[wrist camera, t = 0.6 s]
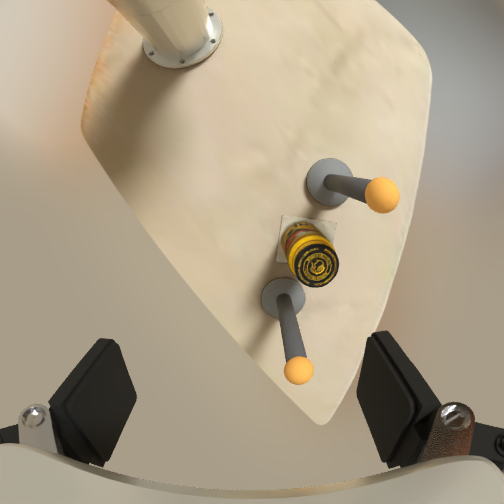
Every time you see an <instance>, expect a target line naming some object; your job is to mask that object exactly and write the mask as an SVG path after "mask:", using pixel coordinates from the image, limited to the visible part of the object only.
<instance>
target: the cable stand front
mask: <svg viewBox="0 0 504 504" xmlns="http://www.w3.org/2000/svg"><path fill="white" fill-rule="evenodd" d="M307 187H308V190H309V192H310V194H311V196H312V197H313V198H314V199H315V200H316V201H318V202H320V203H322V204H324V205H328V206H334V205H338V204H341V203H343V202H344V201H345V200H346V199H347V198H348V197H351V198H353V199H356V200H359V201H361V202H364V203H367V204H368V206H369V207H370V208H371V209H372V210H374V211H375V212H378V213H388V212H391V211H392V210H393V209H394V208H395V207H396V206H397V204H398V202H399V191H398V188H397V186H396V185H395V183H394V182H392V181H391V180H389V179H387V178H383V177H379V178H376V179H373V180H369V179H363V178H356V177H353V175H352V173H351V171H350V169H349V167H348V166H347V165H346V164H345V163H343V162H342V161H340V160H337V159H333V158H327V159H322V160H319V161H318V162H316V163H315V164H314V165H313V166H312V167H311V168H310V170H309V172H308V175H307Z"/></svg>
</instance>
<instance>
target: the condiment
mask: <svg viewBox="0 0 504 504" xmlns="http://www.w3.org/2000/svg"><path fill="white" fill-rule="evenodd" d="M336 224H337V223H335V222H329V221H321V220H315V219H308V218H301V217H294V216H286V215H283V216H282V223H281V229H280V236H279V243H278V250H277V256H276V262H284V263H288V265H289V267H290V270H291V271H292V273H293V274H294V275H295V276H296V277H297V278H298V280H299V281H300V282H302V283H303V284H304V285H306V286H308V287H323V286H325V285H327V284H328V283H329V282H330V281H332V280H333V278H334V277H335V276H336V274H337V272H338V268H339V260H338V257H337V255H336V252H335V250H334V248H333V246H332V244H333V239H334V234H335V229H336Z"/></svg>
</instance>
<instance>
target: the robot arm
mask: <svg viewBox="0 0 504 504" xmlns="http://www.w3.org/2000/svg"><path fill="white" fill-rule="evenodd" d="M107 1H108V2H109V3H110V4H112V5H113V6H114V7H115V8H116V9H117V10H118V11H119V12H120V13H121V15H122V16H123V17H124V18H125V19H126V20H127V21H128V22H129V23H130V24H131V25H132V26H133V27H134V28H135V29H136V30H137V31H138V32H139V33H140V34H141V35H142V36H143V37H144V39H143V48H144V51H145V53H146V55H147V56H148V57H149V59H150V60H152V61H153V62H154V63H156V64H157V65H159V66H162V67H166V68H184V67H188V66H191V65H194V64H196V63H199V62H201V61H202V60H204V59H205V58H207V57H208V56H209V55H210V54H212V53H213V52H214V50H215V49H216V48H217V47H218V45H219V43H220V41H221V38H222V35H223V26H222V22H221V19H220V17H219V16H218V14H217V13H216V12H215V11H213V10H212V9H210V8H208V7H206V5H205V2H204V0H107ZM211 16H212V17H211ZM214 42H215V43H214ZM212 43H214V44H212ZM153 54H154V55H153ZM183 62H184V63H183ZM182 63H183V64H182ZM357 398H358V400H359V403H360V406H361V408H362V411H363V413H364V416H365V418H366V421H367V424H368V426H369V428H370V431H371V434H372V437H373V439H374V442H375V445H376V447H377V450H378V453H379V455H380V458H381V461H382V462H384V463H385V462H386V463H387V465H388V468H389V469H390V468H393V467H396V466H399V465H400V467H401V468H399V469H395V470H392V471H388V472H385V473H381V474H377V475H373V476H368V477H364V478H359V479H355V480H349V481H344V482H339V483H333V484H327V485H320V486H313V487H304V488H293V489H280V490H218V489H217V490H216V489H204V488H194V487H185V486H177V485H171V484H165V483H159V482H154V481H148V480H144V479H139V478H134V477H130V476H126V475H122V474H118V473H115V472H111V471H107V470H104V469H101V468H97V467H94V466H91V465H89V463H91V464H94V465H97V466H100V467H103V466H104V464H105V462H106V461H109V459H110V457H111V455H112V453H113V450H114V448H115V446H116V444H117V442H118V439H119V437H120V435H121V433H122V430H123V428H124V426H125V424H126V421H127V420H128V417H129V415H130V413H131V411H132V409H133V406H134V405H135V402H136V399H137V395H136V391H135V389H134V386H133V384H132V381H131V378H130V376H129V373H128V370H127V367H126V365H125V362H124V359H123V356H122V353H121V350H120V347H119V345H118V344H117V343H116V342H115V341H114V340H113V339H105V338H100V339H98V340H97V342H96V343H95V344H94V345H93V347H92V348H91V349H90V350H89V351H88V352H87V354H86V355H85V356H84V357H83V358H82V360H81V361H80V362H79V363H78V365H77V366H76V367H75V368H74V369H73V371H72V372H71V373H70V375H69V376H68V377H67V378H66V379H65V381H64V382H63V383H62V385H61V386H60V387H59V388H58V390H57V391H56V392H55V394H54V395H53V396H52V397H51V399H50V400H49V401H48V402H49V404H50V406H51V407H50V408H49V409H48V408H47V407H46V406H44V405H42V404H33V405H30V406H28V407H26V408H25V409H24V410H23V411H22V412H21V413H20V415H19V419H18V424H16V425H13V426H9V427H6V428H2V429H0V504H504V429H503V428H498V427H493V426H489V425H485V424H481V423H477V422H475V416H474V413H473V411H472V410H471V409H470V407H468V406H467V405H465V404H463V403H460V402H449V403H446V404H444V405H441V403H440V401H439V400H438V398H437V397H436V396H435V394H434V393H433V391H432V390H431V388H430V387H429V385H428V384H427V382H426V381H425V380H424V378H423V377H422V375H421V374H420V373H419V371H418V370H417V368H416V367H415V366H414V364H413V363H412V362H411V361H410V360H409V358H408V357H407V356H406V354H405V353H404V352H403V350H402V349H401V347H400V346H399V345H398V343H397V342H396V341H395V340H394V338H393V337H392V335H391V334H390V333H389V332H388V331H380V332H373V333H372V335H371V337H368V338H367V342H366V347H365V353H364V358H363V363H362V368H361V373H360V377H359V382H358V386H357Z"/></svg>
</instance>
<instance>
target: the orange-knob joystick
mask: <svg viewBox="0 0 504 504" xmlns="http://www.w3.org/2000/svg"><path fill="white" fill-rule="evenodd" d="M304 303H305V293H304V290H303V288H302V286H301V285H300V284H299V283H298V282H297V281H296V280H294V279H291V278H285V277H284V278H277V279H275V280H273V281H271V282H269V283H268V284H267V285H266V287H265V288H264V290H263V292H262V305H263V308H264V310H265V311H266V312H267V313H268V314H269V315H270V316H272V317H275V318H279V321H280V327H281V333H282V339H283V345H284V351H285V358H286V365H285V367H284V375H285V377H286V379H287V380H288V381H289V382H290V383H292V384H296V385H301V384H304V383H306V382H308V381H309V380H310V379H311V377H312V375H313V365H312V363H311V361H310V360H309V359H307V356H306V352H305V348H304V344H303V341H302V337H301V333H300V329H299V326H298V322H297V318H296V314H297V313H299V312H300V310H301V309H302V308H303V306H304Z"/></svg>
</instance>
